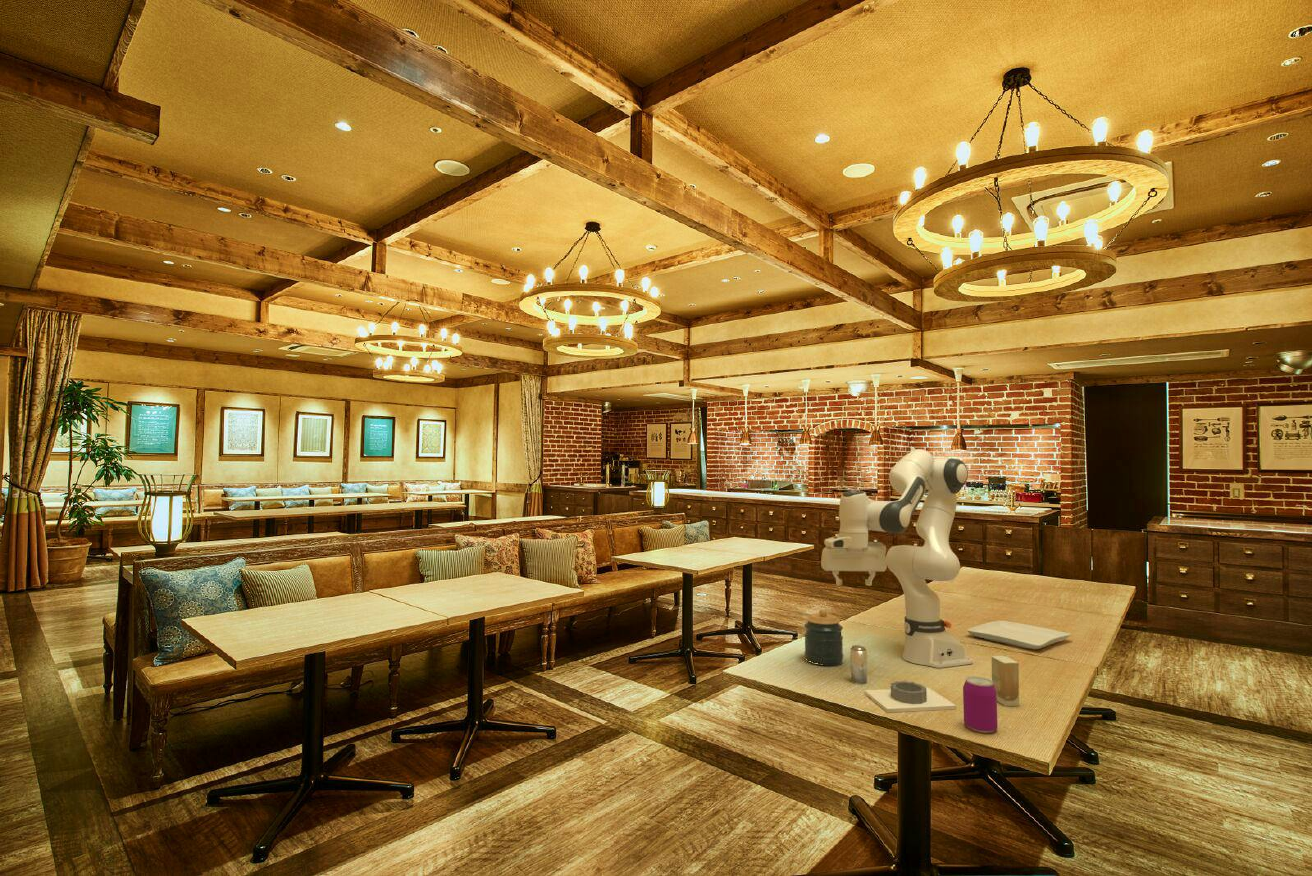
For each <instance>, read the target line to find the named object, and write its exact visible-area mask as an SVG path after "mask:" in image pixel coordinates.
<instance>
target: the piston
mask: <svg viewBox="0 0 1312 876" xmlns="http://www.w3.org/2000/svg"><path fill="white" fill-rule="evenodd" d="M849 650H850V681H852V682H851V683H853V682H854V683H853V684H855V683H857V684H856V685H867V683H868V663H867V661H868V660H867V659H868V657H867V656H868V655H867V654H868V653H867V652H868V651H867V649H866V646H863V645H857V644H856V645H852V646H851V647H850V649H849Z"/></svg>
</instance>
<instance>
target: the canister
mask: <svg viewBox="0 0 1312 876" xmlns="http://www.w3.org/2000/svg"><path fill="white" fill-rule="evenodd" d="M806 621H807V622H805V624H804V625H803V627H804V628H805V632H804V634H803V635H804V657H805V658H806V659H807V660H808V661H811V662H813V663H818V664H823V665H836V666H839V665H838V664H840V663H841V664H842V663H843V662H842V661H843V660H844V653H843V650H844V648H843V647H844V646H843V639H844V637H843V635H842V630H843V629H844V628H843V625H841V624H840V623H841V619H840V618H838V617H837V616H836V615H833V614H831V613H828V612H827V610H826V609H825V608H821V609H820V610H819V612H817V613H811V615H809V616H807V617H806ZM806 659H805V660H806ZM808 661H807V662H808ZM841 664H840V665H841Z"/></svg>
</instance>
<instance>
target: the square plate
mask: <svg viewBox="0 0 1312 876" xmlns="http://www.w3.org/2000/svg"><path fill="white" fill-rule="evenodd" d="M966 632H968V633H969V634H970V635H971V636H974V637H975V638H976V637H977V638H980V639H983V638H984V639H983V640H986V641H987V640H988V641H991V642H995V643H1000V644H1005V645H1009V646H1013V647H1016V648H1017V647H1018V648H1021V649H1028V650H1039V649H1042V647H1043V648H1045V647H1048V646H1050V645H1053V644H1056V643H1059V642H1062V641H1064V640H1067V639H1068V638H1069V637H1071V636H1072V634H1071V633H1069V632H1064V631H1060V630H1054V629H1052V628H1045V627H1041V626H1036V625H1031V624H1025V623H1019V622H1013V621H1007V620H996V621H989V622H987V623H981V624H978V625H975V626H973V627H969V628H967V629H966Z"/></svg>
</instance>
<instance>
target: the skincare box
mask: <svg viewBox="0 0 1312 876" xmlns="http://www.w3.org/2000/svg"><path fill="white" fill-rule="evenodd" d="M1019 664H1020V663H1019V662H1018V661H1015V660H1014V659H1012V658H1010V657H1007V656H1006V655H991V681H992V682H993V684H994V687H995V689H996V691H997V703H1000V704H1001V705H1003V706H1004V707H1018V706H1020V683H1019V682H1020V677H1019V676H1020V675H1019V673H1020V669H1019Z"/></svg>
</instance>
